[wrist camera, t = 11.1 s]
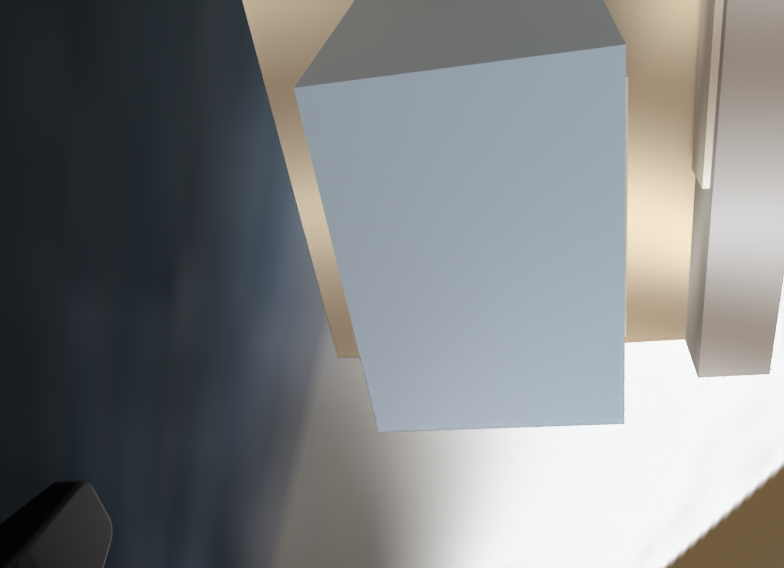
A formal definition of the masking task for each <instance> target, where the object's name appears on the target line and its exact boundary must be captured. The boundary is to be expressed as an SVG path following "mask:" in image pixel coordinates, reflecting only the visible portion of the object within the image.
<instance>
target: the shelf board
mask: <svg viewBox="0 0 784 568" xmlns="http://www.w3.org/2000/svg"><path fill="white" fill-rule="evenodd" d="M242 1H243V5H244V9H245V12H246V16H247V20H248V24H249V27H250V31H251V35H252V39H253V42H254V46H255V50H256V54H257V57H258V61H259V65H260V68H261V72H262V76H263V80H264V83H265V87H266V91H267V95H268V98H269V102H270V106H271V110H272V113H273V117H274V121H275V124H276V128H277V132H278V136H279V139H280V143H281V147H282V151H283V154H284V158H285V162H286V166H287V169H288V173H289V177H290V181H291V184H292V188H293V192H294V195H295V199H296V203H297V207H298V210H299V214H300V218H301V222H302V225H303V229H304V233H305V237H306V240H307V244H308V248H309V251H310V255H311V259H312V263H313V266H314V270H315V274H316V278H317V281H318V285H319V289H320V293H321V296H322V300H323V304H324V308H325V311H326V315H327V319H328V322H329V326H330V330H331V334H332V337H333V341H334V345H335V349H336V352H337V356H338V358H350V357H360V355H359V351H358V347H357V343H356V339H355V334H354V330H353V326H352V322H351V318H350V314H349V310H348V306H347V302H346V298H345V294H344V290H343V286H342V282H341V278H340V274H339V270H338V266H337V261H336V257H335V253H334V249H333V245H332V241H331V237H330V233H329V229H328V225H327V221H326V217H325V213H324V209H323V205H322V201H321V197H320V193H319V188H318V184H317V180H316V176H315V172H314V168H313V164H312V160H311V156H310V152H309V148H308V144H307V140H306V136H305V132H304V128H303V124H302V120H301V115H300V111H299V107H298V103H297V99H296V95H295V91H294V87H295V85H296V84H297V83H298V81H299V80H300V78H301V77H302V75H303V74H304V72H305V71H306V70H307V68H308V67H309V65H310V64H311V62H312V61H313V60H314V58H315V57H316V55H317V54H318V52H319V51H320V49H321V48H322V47H323V45H324V44H325V42H326V41H327V39H328V38H329V37H330V35H331V34H332V32H333V31H334V29H335V28H336V26H337V25H338V24H339V22H340V21H341V19H342V18H343V16H344V15H345V14H346V12H347V11H348V9H349V8H350V6H351V5H352V3H353V2H354V1H355V0H242ZM604 2H605V4H606V6H607V8H608V10H609V12H610V14H611V16H612V18H613V20H614V22H615V24H616V26H617V28H618V30H619V32H620V34H621V36H622V38H623V39H624V41H625V43H626V73H627V75H628V182H627V319H626V337H624V342H641V341H659V340H677V339H685V340H686V342H687V345H688V348H689V351H690V354H691V357H692V360H693V363H694V366H695V369H696V372H697V375H698V377H711V376H733V375H756V374H769V371H770V364H771V358H772V351H773V344H774V337H775V330H776V323H777V316H778V310H779V303H780V296H781V289H782V282H783V275H784V0H604Z"/></svg>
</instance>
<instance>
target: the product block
mask: <svg viewBox="0 0 784 568" xmlns="http://www.w3.org/2000/svg"><path fill="white" fill-rule="evenodd" d="M294 91H295V95H296V99H297V103H298V107H299V111H300V115H301V120H302V124H303V128H304V132H305V136H306V140H307V144H308V148H309V152H310V156H311V160H312V164H313V168H314V172H315V176H316V180H317V184H318V188H319V193H320V197H321V201H322V205H323V209H324V213H325V217H326V221H327V225H328V229H329V233H330V237H331V241H332V245H333V249H334V253H335V257H336V261H337V266H338V270H339V274H340V278H341V282H342V286H343V290H344V294H345V298H346V302H347V306H348V310H349V314H350V318H351V322H352V326H353V330H354V334H355V339H356V343H357V347H358V351H359V355H360V359H361V363H362V367H363V371H364V375H365V379H366V383H367V387H368V391H369V395H370V399H371V403H372V407H373V412H374V416H375V420H376V424H377V428H378V432H396V431H425V430H454V429H483V428H513V427H542V426H571V425H600V424H624V337H626V319H627V182H628V75H627V73H626V43H625V41H624V39H623V38H622V36H621V34H620V32H619V30H618V28H617V26H616V24H615V22H614V20H613V18H612V16H611V14H610V12H609V10H608V8H607V6H606V4H605V2H604V0H355V1H354V2H353V3H352V5H351V6H350V8H349V9H348V11H347V12H346V14H345V15H344V16H343V18H342V19H341V21H340V22H339V24H338V25H337V26H336V28H335V29H334V31H333V32H332V34H331V35H330V37H329V38H328V39H327V41H326V42H325V44H324V45H323V47H322V48H321V49H320V51H319V52H318V54H317V55H316V57H315V58H314V60H313V61H312V62H311V64H310V65H309V67H308V68H307V70H306V71H305V72H304V74H303V75H302V77H301V78H300V80H299V81H298V83H297V84H296V85H295V87H294Z"/></svg>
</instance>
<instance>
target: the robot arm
mask: <svg viewBox="0 0 784 568" xmlns="http://www.w3.org/2000/svg"><path fill="white" fill-rule="evenodd" d="M111 539H112V523H111V520H110V517H109V516H108V514H107V512H106V510H105V508H104V507H103V505H102V503H101V501H100V499H99V498H98V496H97V494H96V492H95V491H94V489H93V487H92V486H91V484H89V483H88V482H86V481H82V480H77V481H59V482H56V483H53V484H52V485H50V486H49V487H48V488H46V489H45V490H44V491H42V492H41V493H40V494H39V495H37V496H36V497H35V498H33V499H32V500H31V501H30V502H28V503H27V504H26V505H24V506H23V507H22V508H21V509H19V510H18V511H17V512H15V513H14V514H13V515H11V516H10V517H9V518H8V519H6V520H5V521H4V522H2V523H1V524H0V568H103V567H104V564H105V560H106V557H107V553H108V550H109V546H110V543H111Z"/></svg>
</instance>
